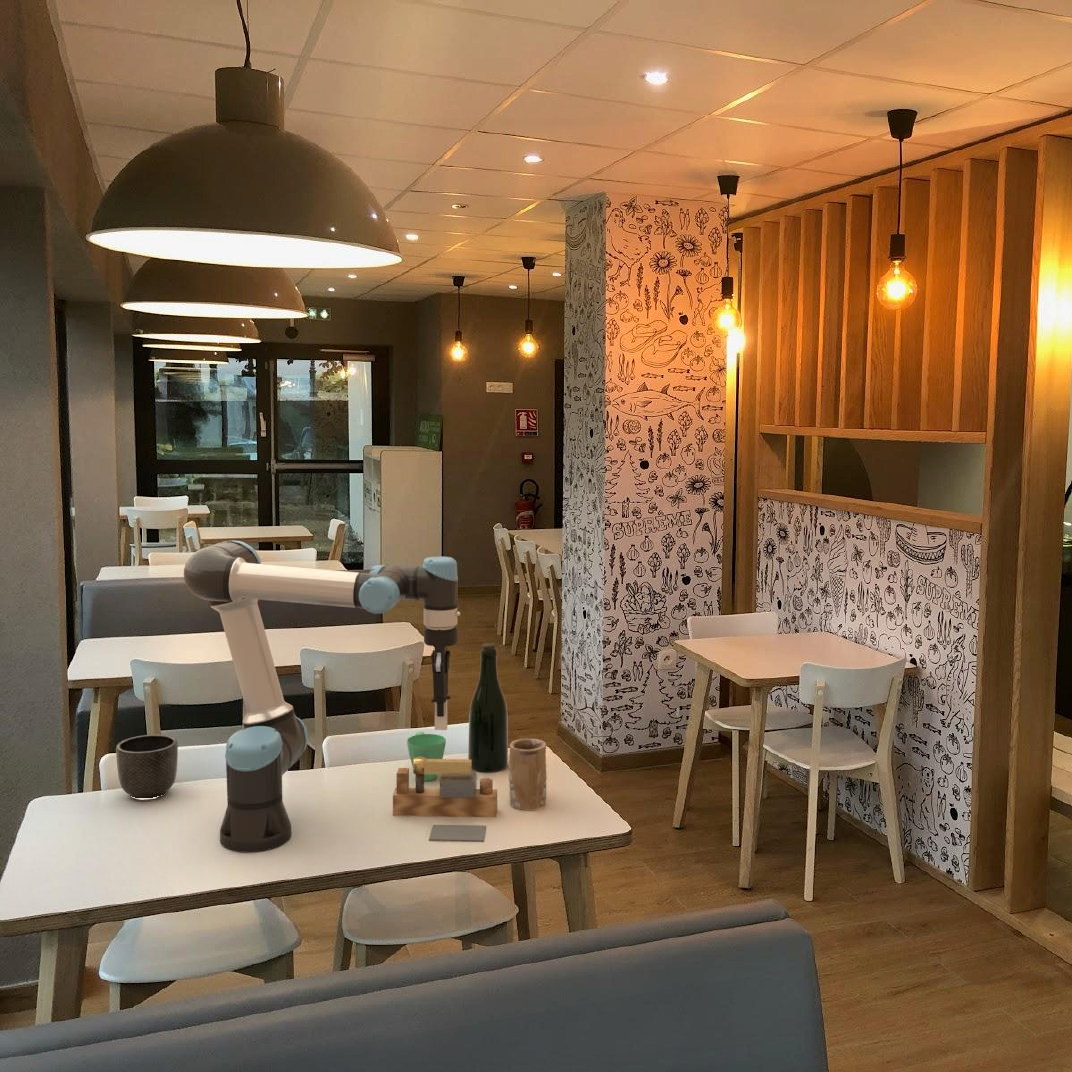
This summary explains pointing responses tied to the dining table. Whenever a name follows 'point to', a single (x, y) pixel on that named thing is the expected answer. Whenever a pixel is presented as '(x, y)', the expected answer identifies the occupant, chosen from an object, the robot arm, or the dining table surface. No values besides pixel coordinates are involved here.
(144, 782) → the planter
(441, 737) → the mug
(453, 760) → the lever
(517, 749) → the mug
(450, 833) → the mat
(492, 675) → the green wine bottle
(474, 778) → the grey stone cube
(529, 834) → the dining table surface
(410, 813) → the body
